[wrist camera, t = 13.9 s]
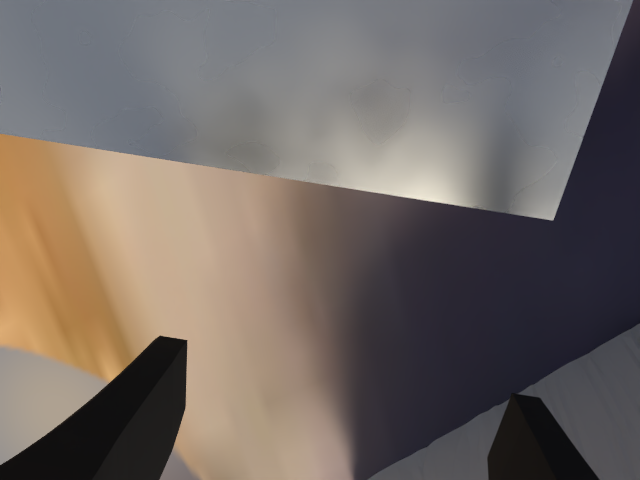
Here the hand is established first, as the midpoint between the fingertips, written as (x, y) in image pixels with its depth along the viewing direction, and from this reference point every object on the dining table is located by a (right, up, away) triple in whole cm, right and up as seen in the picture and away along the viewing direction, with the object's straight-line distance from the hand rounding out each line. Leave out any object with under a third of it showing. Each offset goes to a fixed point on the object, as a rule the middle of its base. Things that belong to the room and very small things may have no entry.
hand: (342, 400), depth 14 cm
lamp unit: (-1, +11, +5) cm, 12 cm away
